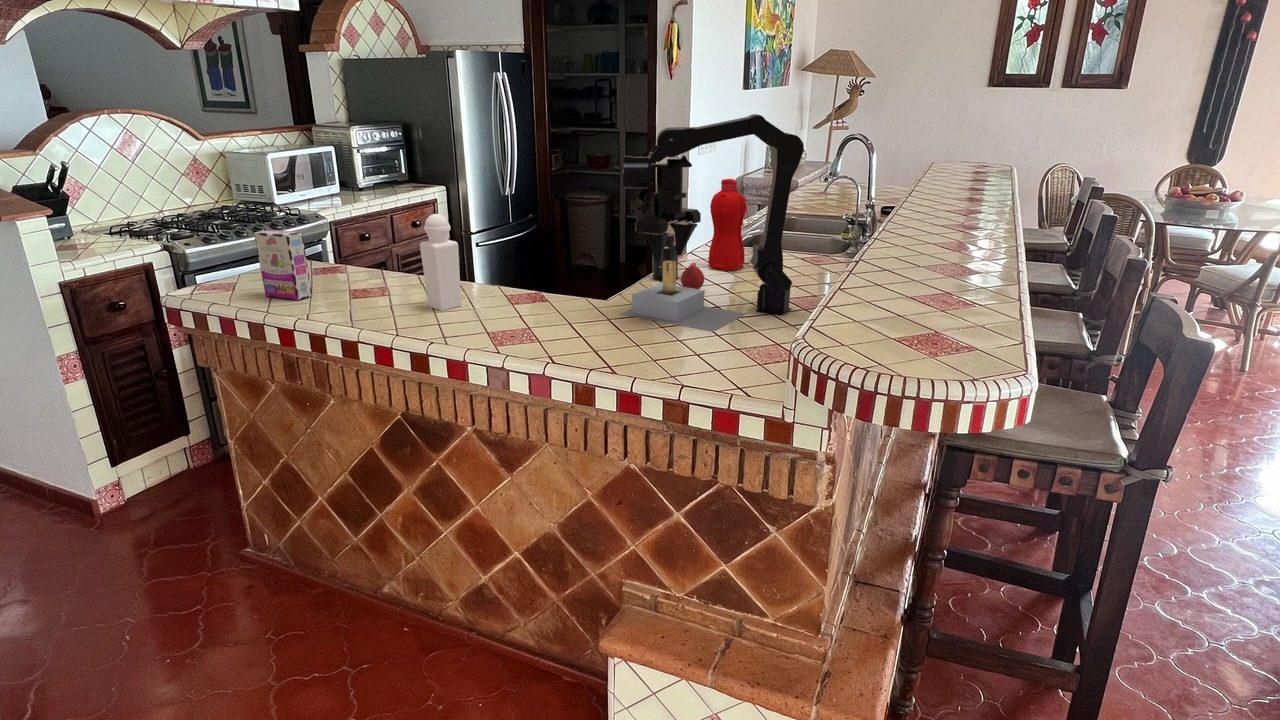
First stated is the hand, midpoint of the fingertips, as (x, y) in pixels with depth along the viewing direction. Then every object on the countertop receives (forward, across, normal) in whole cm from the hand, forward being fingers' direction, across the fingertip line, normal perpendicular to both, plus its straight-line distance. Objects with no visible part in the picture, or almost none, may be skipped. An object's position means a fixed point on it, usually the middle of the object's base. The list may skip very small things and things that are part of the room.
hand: (668, 258), depth 167 cm
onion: (+13, -18, -4) cm, 23 cm away
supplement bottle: (+13, -28, -18) cm, 35 cm away
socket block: (+12, 0, 0) cm, 12 cm away
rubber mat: (+13, 0, +4) cm, 13 cm away
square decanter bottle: (+13, +24, -48) cm, 55 cm away
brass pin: (+11, 0, 0) cm, 11 cm away
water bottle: (+13, -48, -9) cm, 51 cm away
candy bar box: (+13, +39, -88) cm, 97 cm away
